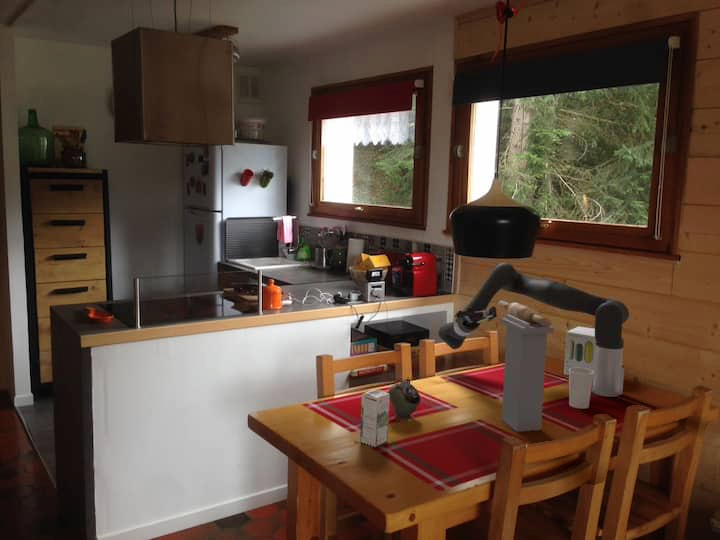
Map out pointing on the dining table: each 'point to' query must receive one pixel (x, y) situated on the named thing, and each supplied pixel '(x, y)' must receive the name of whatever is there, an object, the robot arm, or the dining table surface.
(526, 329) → the stand
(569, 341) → the supplement box
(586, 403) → the cup
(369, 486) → the dining table surface
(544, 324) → the rolling pin
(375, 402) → the syrup box
